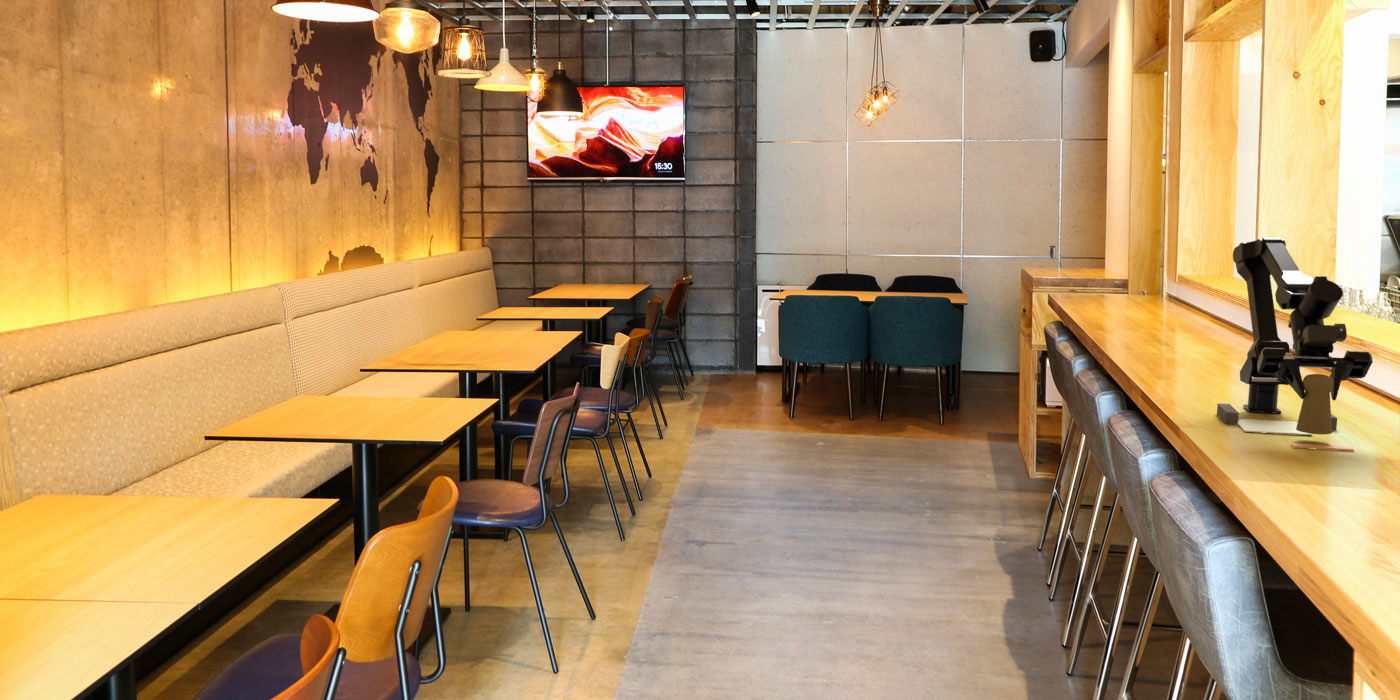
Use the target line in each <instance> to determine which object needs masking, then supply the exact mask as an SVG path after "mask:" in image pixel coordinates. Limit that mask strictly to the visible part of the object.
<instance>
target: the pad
mask: <svg viewBox="0 0 1400 700" xmlns="http://www.w3.org/2000/svg"><path fill="white" fill-rule="evenodd" d="M1297 423H1298V421H1288V420H1287V421H1286V420H1268V419H1267V420H1266V419H1252V418H1251V419H1249V418H1239V419H1238V422H1237V424H1238V425H1239V426H1240V427H1241V428H1242V429H1243V430H1244V431H1245V432H1244V431H1243V430H1242V429H1241V428H1240V427H1239V426H1238V425H1237V424H1236V425H1237V426H1238V427H1239V428H1240V429H1241V430H1242V431H1243V432H1244V433H1246V432H1266V433H1275V434H1274V435H1281V434H1288V435H1287V436H1299V435H1311V436H1310V437H1313V435H1314V434H1310V433H1304V432H1300V431H1297V430H1296V427H1297Z"/></svg>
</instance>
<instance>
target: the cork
mask: <svg viewBox="0 0 1400 700" xmlns="http://www.w3.org/2000/svg"><path fill="white" fill-rule="evenodd" d="M1302 382H1303V386H1304V391H1305V397H1304V399H1302V404H1301V407H1300V410H1299V411H1300V412H1299V416H1298V419H1297V422H1298V423H1297V427H1296V430H1297V431H1300V432H1304V433H1310V434H1313V435H1330V434H1332V433H1333V429H1332V423H1331V414H1332V411H1331V410H1332V409H1331V408H1332V407H1331V391H1332V390H1333V387H1334V381H1333V379H1332V378H1331V377H1330V375H1326V374H1321V373H1310V374H1307V375H1305V376H1304V377H1303V378H1302Z"/></svg>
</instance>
